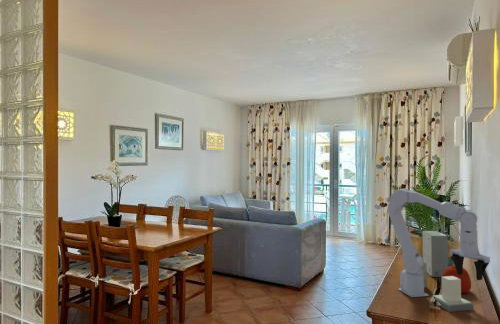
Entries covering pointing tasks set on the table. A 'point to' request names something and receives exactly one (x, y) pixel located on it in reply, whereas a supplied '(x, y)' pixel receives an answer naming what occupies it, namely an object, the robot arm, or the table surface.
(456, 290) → the carton
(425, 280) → the box
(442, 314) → the table surface
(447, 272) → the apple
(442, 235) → the hard drive box
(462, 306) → the tray
